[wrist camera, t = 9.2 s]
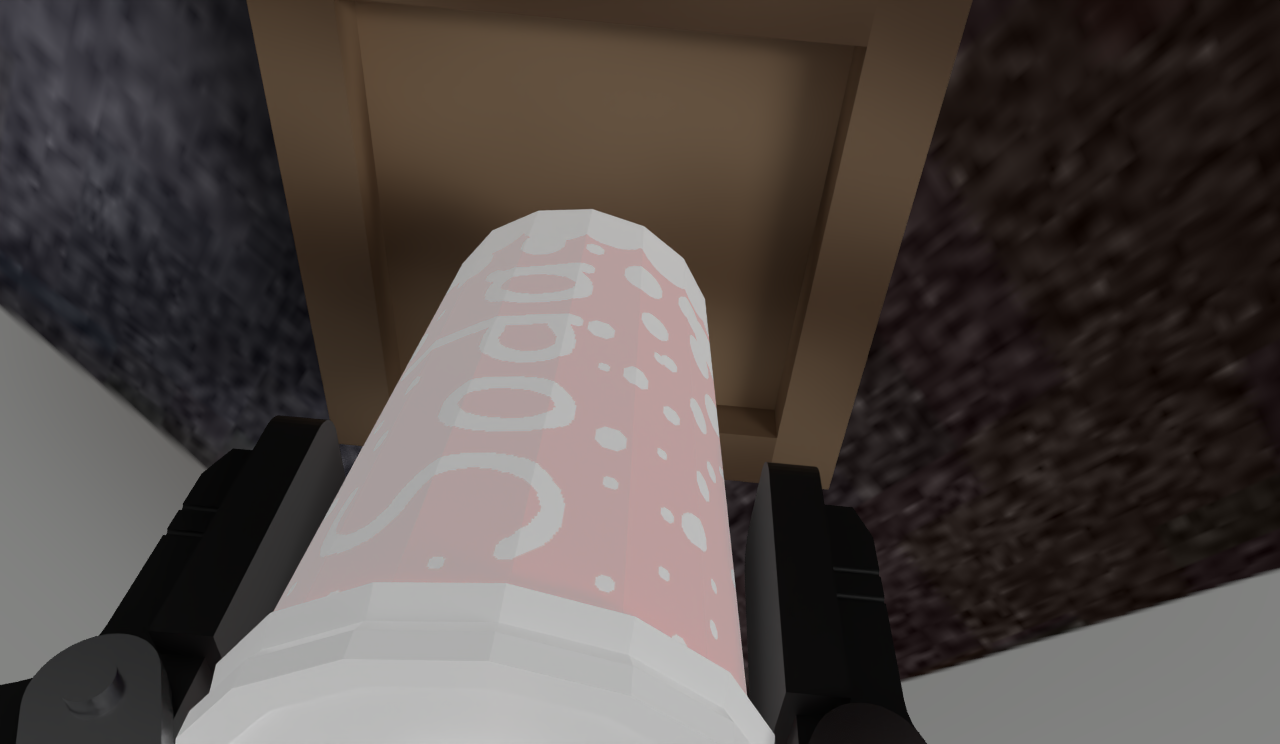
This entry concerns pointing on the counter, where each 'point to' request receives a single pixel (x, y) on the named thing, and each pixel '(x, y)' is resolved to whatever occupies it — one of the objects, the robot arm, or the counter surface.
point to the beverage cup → (520, 526)
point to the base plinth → (613, 173)
